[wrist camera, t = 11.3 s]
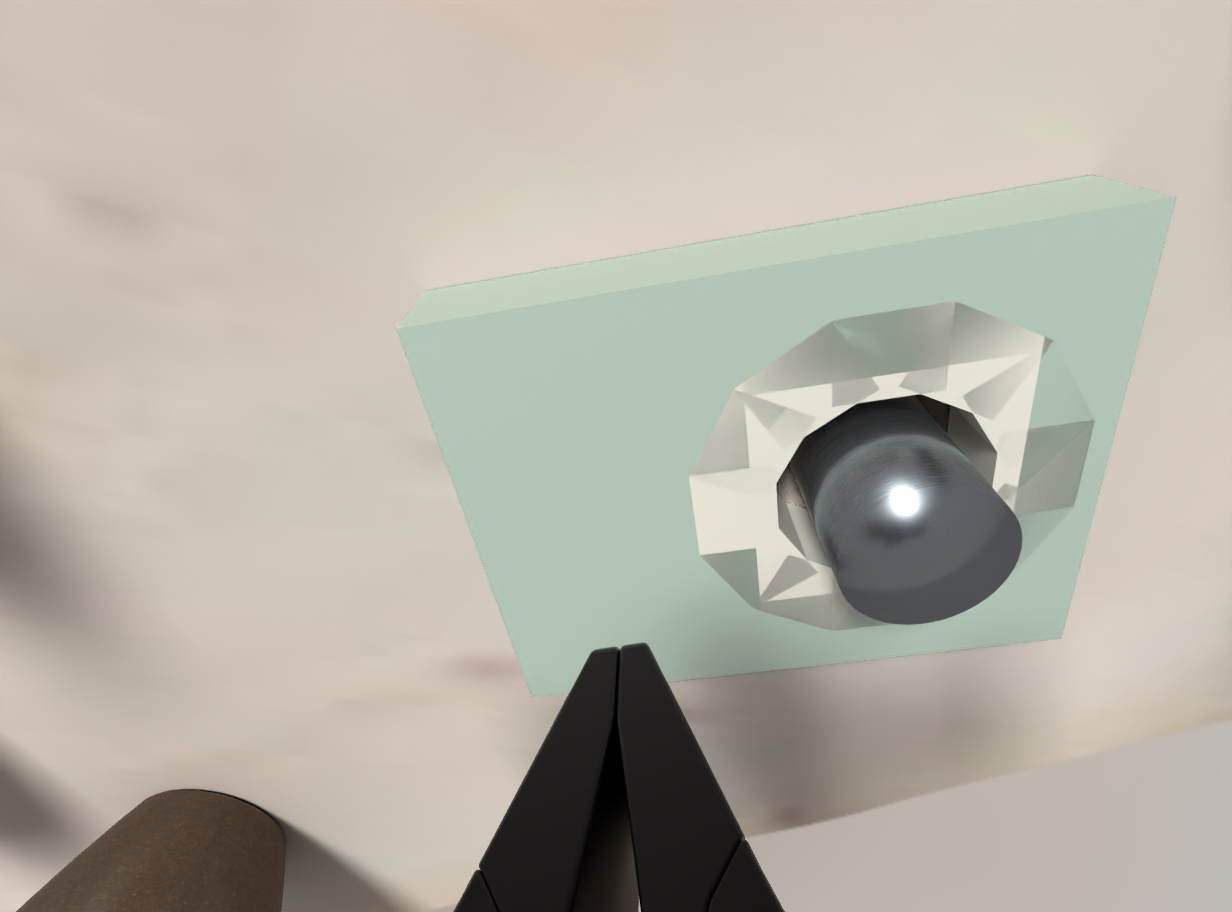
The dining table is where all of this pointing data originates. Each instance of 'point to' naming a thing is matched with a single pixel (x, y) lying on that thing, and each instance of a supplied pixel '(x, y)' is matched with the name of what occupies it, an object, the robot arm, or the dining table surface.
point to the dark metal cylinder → (904, 514)
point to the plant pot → (175, 861)
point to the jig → (780, 419)
